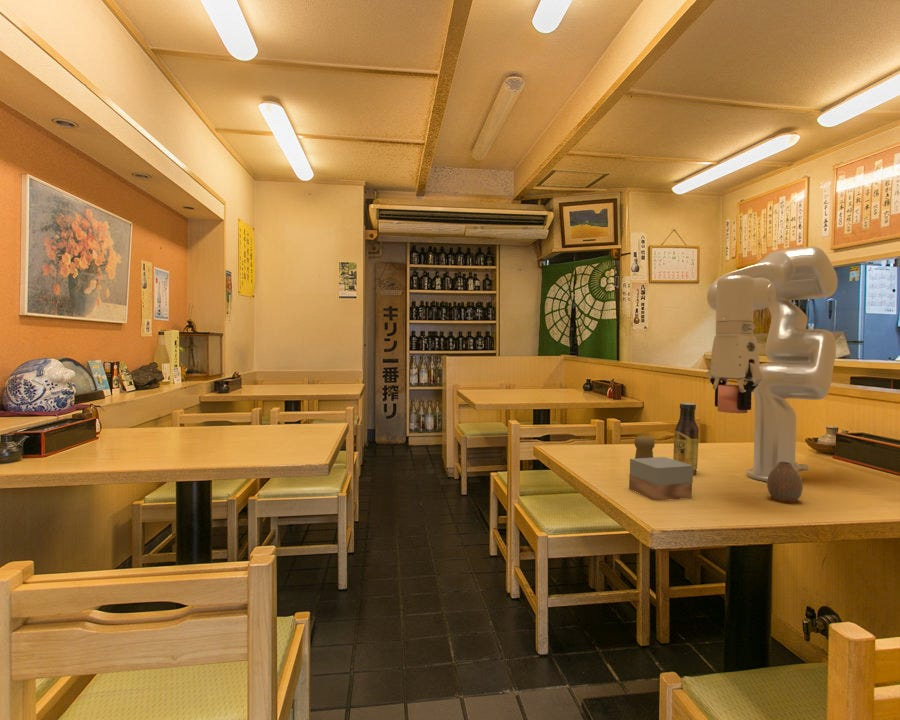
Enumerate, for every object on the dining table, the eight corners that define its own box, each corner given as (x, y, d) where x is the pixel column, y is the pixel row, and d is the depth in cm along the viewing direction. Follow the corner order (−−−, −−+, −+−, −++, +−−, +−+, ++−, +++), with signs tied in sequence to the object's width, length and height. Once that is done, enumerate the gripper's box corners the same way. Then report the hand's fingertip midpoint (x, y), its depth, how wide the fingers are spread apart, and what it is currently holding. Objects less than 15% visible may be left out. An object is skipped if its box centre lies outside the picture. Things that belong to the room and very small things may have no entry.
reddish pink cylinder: (732, 409, 119) (733, 384, 119) (753, 412, 113) (754, 386, 113) (711, 410, 117) (712, 384, 117) (731, 413, 112) (732, 386, 112)
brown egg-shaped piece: (803, 506, 112) (804, 467, 111) (766, 501, 115) (767, 463, 115) (801, 499, 117) (802, 461, 117) (766, 494, 121) (767, 458, 121)
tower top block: (663, 472, 127) (664, 456, 127) (692, 482, 117) (693, 465, 117) (629, 474, 124) (630, 458, 124) (656, 485, 115) (656, 468, 115)
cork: (657, 479, 134) (658, 439, 133) (634, 478, 135) (634, 438, 135) (653, 474, 139) (654, 435, 139) (630, 473, 141) (631, 434, 140)
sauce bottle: (668, 470, 144) (669, 401, 144) (689, 470, 145) (690, 401, 145) (681, 476, 138) (682, 404, 137) (702, 475, 138) (704, 404, 138)
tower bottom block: (664, 488, 127) (664, 472, 127) (691, 500, 117) (692, 483, 117) (629, 490, 125) (629, 474, 125) (654, 502, 115) (654, 485, 115)
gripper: (780, 328, 108) (778, 412, 108) (718, 331, 124) (717, 404, 125) (751, 328, 106) (749, 413, 106) (693, 331, 122) (691, 404, 123)
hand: (732, 407), depth 115 cm, fingers closed on reddish pink cylinder, 6 cm apart
